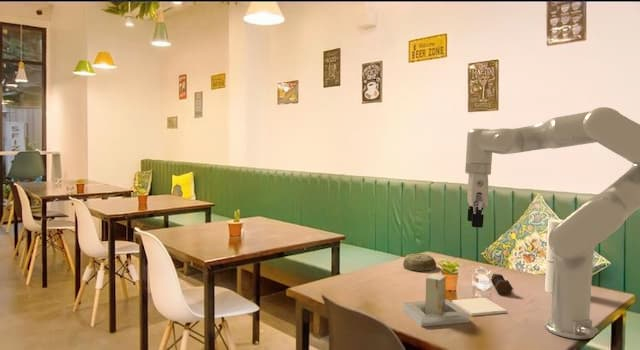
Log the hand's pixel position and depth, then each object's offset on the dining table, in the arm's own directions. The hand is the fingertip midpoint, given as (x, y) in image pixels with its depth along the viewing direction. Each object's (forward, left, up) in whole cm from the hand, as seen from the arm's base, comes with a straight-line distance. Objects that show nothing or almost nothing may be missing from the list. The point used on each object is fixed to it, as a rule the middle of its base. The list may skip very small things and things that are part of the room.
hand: (474, 224), depth 150 cm
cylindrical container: (+10, -39, -27) cm, 48 cm away
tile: (+1, -3, -27) cm, 27 cm away
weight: (+49, -5, -28) cm, 56 cm away
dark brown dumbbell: (+17, -21, -28) cm, 39 cm away
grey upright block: (-3, +14, -27) cm, 31 cm away
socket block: (-3, +14, -27) cm, 31 cm away
